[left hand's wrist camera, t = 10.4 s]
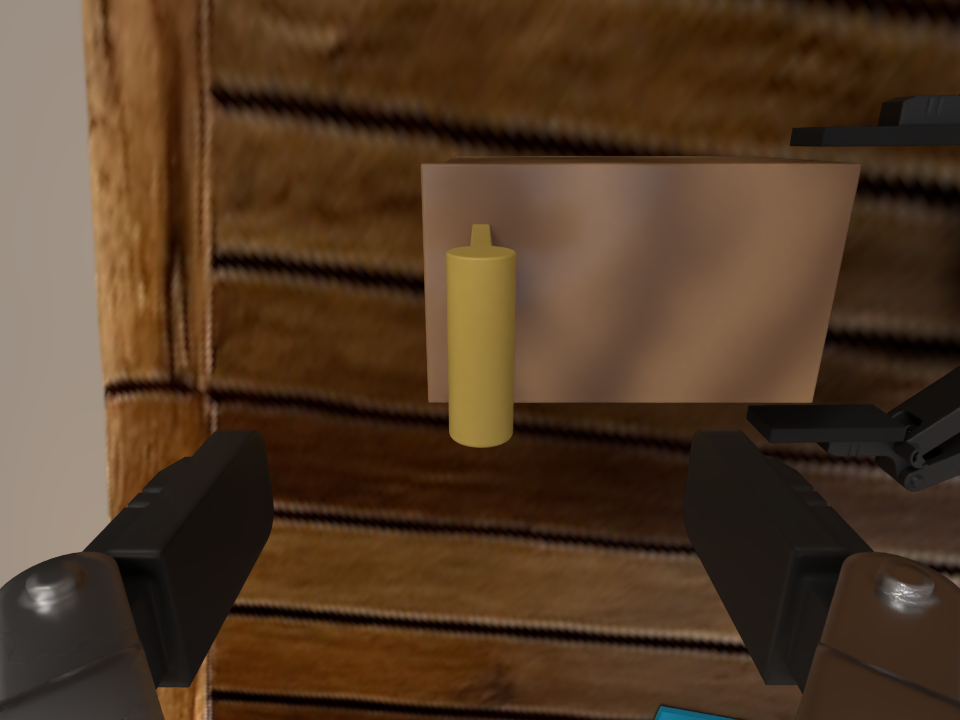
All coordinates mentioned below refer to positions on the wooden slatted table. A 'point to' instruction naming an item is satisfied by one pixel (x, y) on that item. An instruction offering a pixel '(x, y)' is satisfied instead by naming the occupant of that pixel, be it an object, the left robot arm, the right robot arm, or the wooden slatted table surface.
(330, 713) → the wooden slatted table surface
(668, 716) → the model building
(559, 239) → the lid
